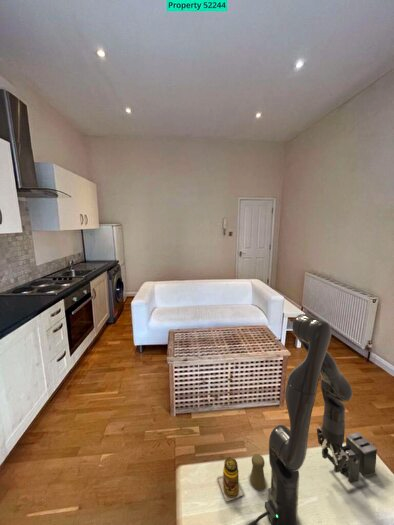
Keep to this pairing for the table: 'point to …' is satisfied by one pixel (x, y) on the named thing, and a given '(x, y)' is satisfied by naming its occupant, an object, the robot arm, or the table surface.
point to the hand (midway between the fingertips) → (330, 464)
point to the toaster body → (363, 452)
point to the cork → (257, 472)
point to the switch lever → (338, 459)
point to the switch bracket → (352, 466)
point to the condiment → (230, 480)
